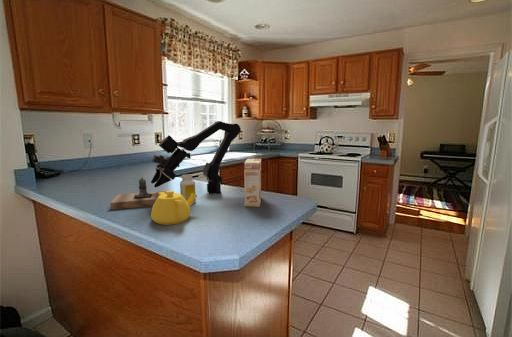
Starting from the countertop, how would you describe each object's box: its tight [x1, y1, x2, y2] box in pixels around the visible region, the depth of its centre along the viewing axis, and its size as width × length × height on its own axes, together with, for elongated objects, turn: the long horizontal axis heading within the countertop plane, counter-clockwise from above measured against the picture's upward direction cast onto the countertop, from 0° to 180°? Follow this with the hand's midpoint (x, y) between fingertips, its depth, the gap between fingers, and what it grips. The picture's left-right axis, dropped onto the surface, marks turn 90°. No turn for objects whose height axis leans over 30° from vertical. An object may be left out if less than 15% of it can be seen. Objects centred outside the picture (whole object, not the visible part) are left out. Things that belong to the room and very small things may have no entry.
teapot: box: [150, 190, 198, 226], centre depth 101 cm, size 20×18×11 cm
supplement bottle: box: [179, 173, 197, 204], centre depth 120 cm, size 7×7×13 cm
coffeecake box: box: [243, 158, 262, 208], centre depth 121 cm, size 15×7×20 cm, turn 176°
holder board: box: [110, 190, 168, 210], centre depth 121 cm, size 24×14×3 cm, turn 107°
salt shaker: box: [137, 177, 150, 199], centre depth 121 cm, size 6×6×12 cm
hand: (153, 184), depth 123 cm, fingers open, 9 cm apart
